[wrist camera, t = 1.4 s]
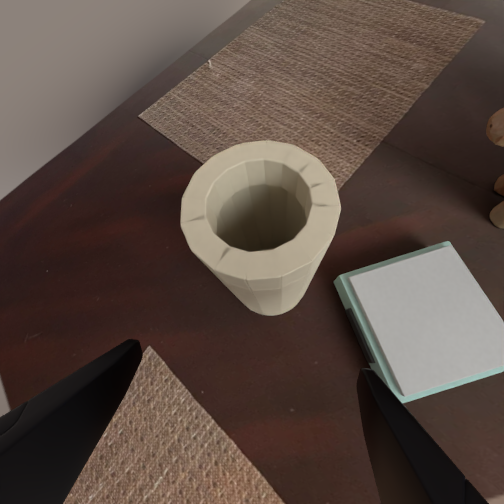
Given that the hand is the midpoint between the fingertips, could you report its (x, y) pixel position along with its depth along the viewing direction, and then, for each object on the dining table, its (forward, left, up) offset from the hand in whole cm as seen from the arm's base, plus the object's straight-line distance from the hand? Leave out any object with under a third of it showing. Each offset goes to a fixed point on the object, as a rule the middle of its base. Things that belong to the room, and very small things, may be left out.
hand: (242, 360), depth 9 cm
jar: (+6, -1, -13) cm, 14 cm away
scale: (+2, -13, -13) cm, 18 cm away
